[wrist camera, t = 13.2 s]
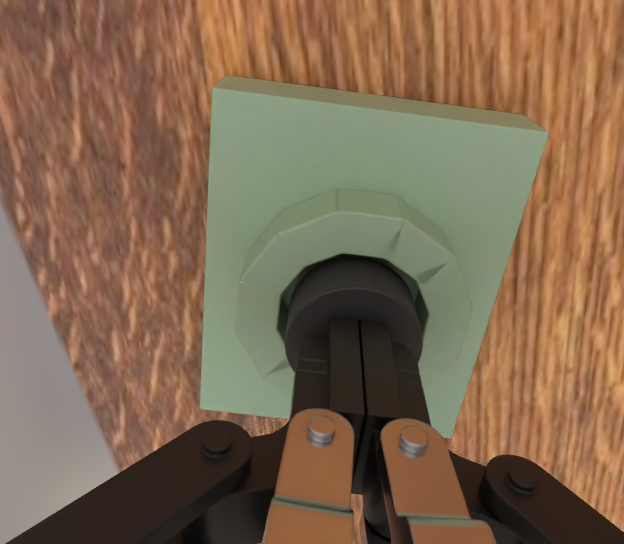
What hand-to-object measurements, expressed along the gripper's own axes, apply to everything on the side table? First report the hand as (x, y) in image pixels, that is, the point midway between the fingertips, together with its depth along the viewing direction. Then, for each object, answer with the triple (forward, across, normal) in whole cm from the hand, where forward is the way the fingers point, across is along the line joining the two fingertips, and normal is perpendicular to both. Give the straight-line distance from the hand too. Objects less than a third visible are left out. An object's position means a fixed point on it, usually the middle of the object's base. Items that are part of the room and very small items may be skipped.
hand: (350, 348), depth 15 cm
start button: (+2, 0, 0) cm, 2 cm away
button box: (+5, 0, 0) cm, 5 cm away
